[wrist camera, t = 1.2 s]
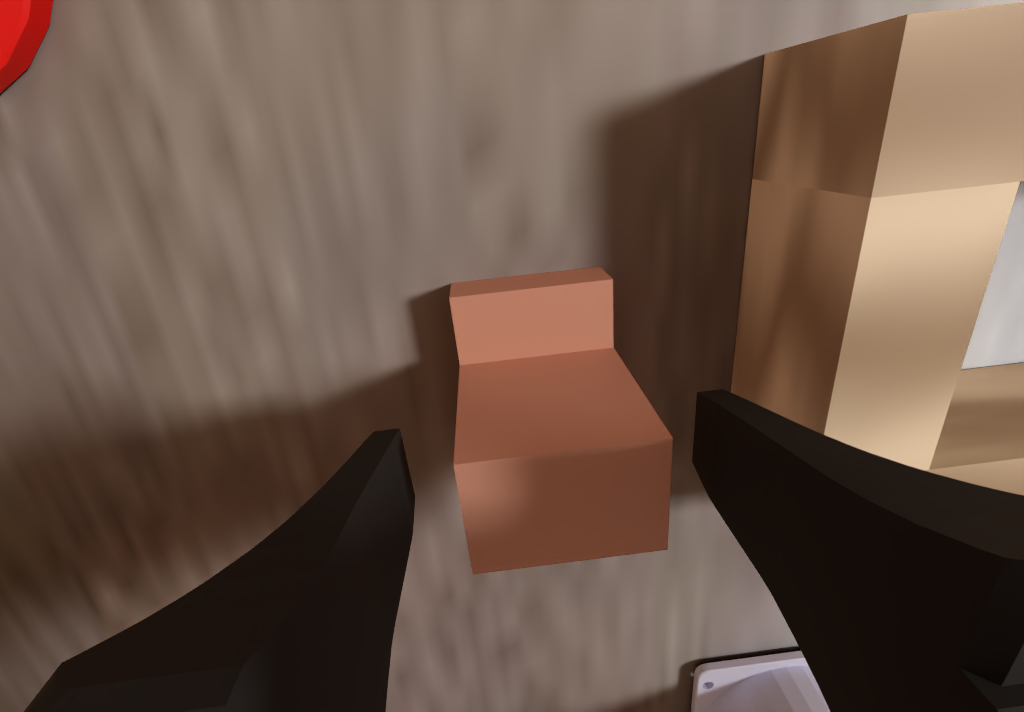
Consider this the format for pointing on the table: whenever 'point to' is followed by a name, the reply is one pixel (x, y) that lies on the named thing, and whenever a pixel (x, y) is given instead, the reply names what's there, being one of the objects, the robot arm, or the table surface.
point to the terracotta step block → (553, 426)
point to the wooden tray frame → (887, 239)
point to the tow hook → (21, 35)
